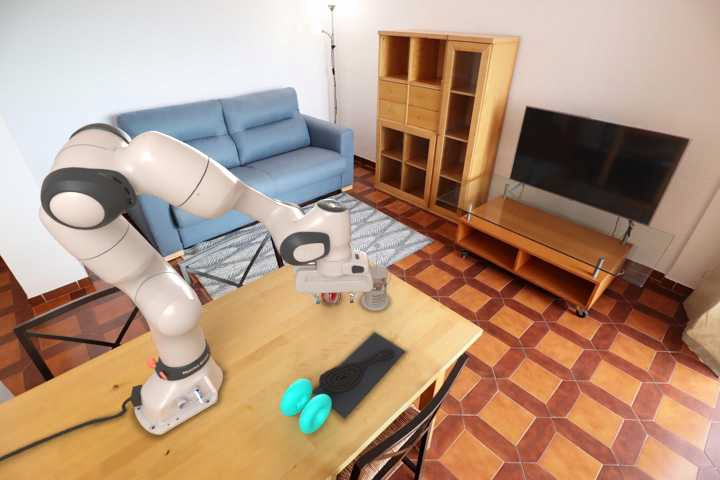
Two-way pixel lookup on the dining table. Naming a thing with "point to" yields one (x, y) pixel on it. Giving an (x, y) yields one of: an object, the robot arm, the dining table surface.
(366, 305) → the french press
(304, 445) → the dining table surface
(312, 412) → the cyan yo-yo
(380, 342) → the placemat
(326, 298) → the soda can
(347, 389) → the hairbrush
